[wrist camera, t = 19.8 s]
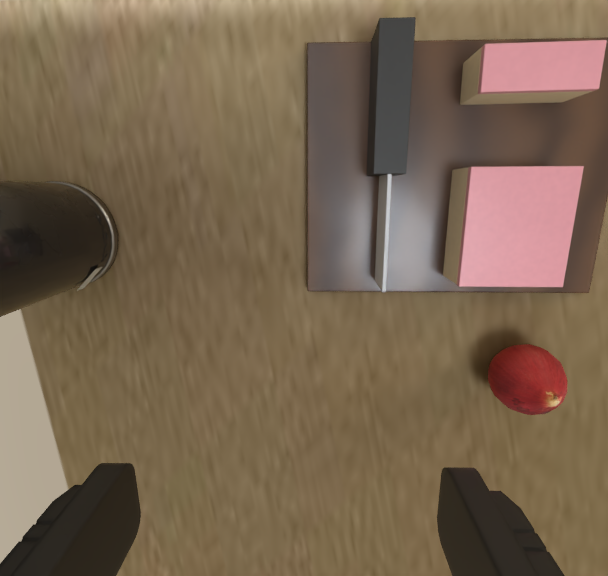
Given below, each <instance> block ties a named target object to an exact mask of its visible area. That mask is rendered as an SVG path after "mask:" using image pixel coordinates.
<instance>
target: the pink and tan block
mask: <svg viewBox="0 0 608 576" xmlns="http://www.w3.org/2000/svg"><path fill="white" fill-rule="evenodd" d="M606 42H607V40H589V41H558V42H526V43H495V44H485V45H483V46H482V47H481V48H480V49H479V50H478V51H477V52H476V53H474V54H473V55H472V56H471V57H470V58H469V59H468V60H466V61H465V62H464V63H463V72H462V84H461V97H460V105H478V104H517V103H555V102H564V101H567V100H570V99H573V98H575V97H578V96H581V95H584V94H586V93H589V92H592V91H595V90H597V89H599V85H600V79H601V73H602V67H603V61H604V55H605V48H606Z"/></svg>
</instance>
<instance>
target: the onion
mask: <svg viewBox="0 0 608 576" xmlns="http://www.w3.org/2000/svg"><path fill="white" fill-rule="evenodd" d="M488 381H489V384H490V387H491V389H492V391H493V393H494V395H495V396H496V397H497V398H498V399H499V400H500V401H501V402H502V403H503V404H504V405H506V406H507V407H508V408H510V409H512V410H515V411H518V412H521V413H524V414H528V415H535V414H545V413H548V412H550V411H551V410H553V409H555V408H557V407H558V406H559V405H560V404H561V403H562V402H563V400H564V398H565V396H566V393H567V378H566V375H565V372H564V369H563V367H562V365H561V363H560V362H559V361H558V360H557V359H556V358H555V357H554V356H553V355H551V354H550V353H549V352H548V351H547V350H545V349H542V348H540V347H537V346H533V345H530V344H525V345H513V346H511V347H508V348H505V349H503V350H502V351H500V352H499V353H498V354H497V355H495V356H494V358H493V360H492V361H491V363H490V365H489V369H488Z"/></svg>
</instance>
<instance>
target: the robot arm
mask: <svg viewBox="0 0 608 576" xmlns="http://www.w3.org/2000/svg"><path fill="white" fill-rule="evenodd" d="M117 249H118V234H117V229H116V225H115V222H114V220H113V218H112V216H111V214H110V212H109V210H108V209H107V207H106V206H105V205H104V204H103V202H102V201H101V200H100V199H99V198H98V197H96V196H95V195H94V194H93V193H91V192H90V191H88V190H87V189H85V188H83V187H81V186H78V185H75V184H72V183H67V182H53V181H52V182H23V181H0V317H1V316H3V315H6V314H8V313H11V312H13V311H16V310H19V309H21V308H24V307H26V306H29V305H31V304H34V303H36V302H39V301H41V300H44V299H46V298H49V297H52V296H54V295H57V294H59V293H62V292H65V291H67V290H70V289H72V288H75V287H77V286H80V287H79V289H78V290H80V289H83V288H85V287H86V285H87V284H88V283H90V282H93V281H95V280H97V279H99V278H100V277H102V276H103V275H104V274H105V273H106V272H107V271H108V270H109V269H110V267H111V266H112V264H113V262H114V260H115V257H116V254H117ZM78 290H77V291H78ZM437 522H438V532H439V537H440V541H441V545H442V548H443V551H444V553H445V556H446V559H447V562H448V565H449V567H450V570H451V573H452V576H564V574H563V573H562V571H561V570H560V568H559V567H558V565H557V564H556V562H555V560H554V559H553V557H552V556H551V554H550V553H549V552H547V551H546V547H545V545H544V544H543V542H542V541H541V539H540V538H539V536H538V534H535V532H534V528H533V527H532V525H531V524H530V522H529V521H528V519H527V518H526V516H525V515H524V513H523V511H522V510H521V508H519V507H518V506H517V505H516V504H515V503H514V502H513V501H511V500H510V499H509V498H508V497H507V496H506V495H505V494H503V493H502V492H501V491H489V489H488V488H487V486H486V484H485V483H484V481H483V479H482V478H481V476H480V474H479V473H478V471H477V470H476V469H475V468H443V470H442V474H441V483H440V494H439V504H438V515H437ZM139 524H140V504H139V497H138V490H137V483H136V476H135V470H134V467H133V465H132V464H130V463H101V464H99V465H98V466H97V467H96V468H95V469H94V470H93V472H92V473H91V474H90V475H89V477H88V478H87V479H86V480H85V482H84V483H83V484H82V485H74V486H73V487H72V488H70V489H69V490H68V491H66V492H65V493H64V494H62V495H61V496H60V497H58V498H57V499H55V500H54V501H53V502H52V503H51V504H50V506H49V507H48V508H47V509H46V510H45V512H44V513H43V514H42V515H41V516H40V517H39V519H38V520H37V523H36V525H33V526H32V527H31V528H30V529H29V531H28V532H27V533H26V534H25V535H24V536H23V539H22V541H21V542H18V543H17V545H16V546H15V547H14V548H13V549H12V551H11V552H10V553H9V554H8V555H7V556H6V558H5V559H4V560H3V561H2V562H1V564H0V576H116V575H117V573H118V571H119V569H120V567H121V565H122V563H123V561H124V559H125V557H126V555H127V553H128V551H129V550H130V548H131V546H132V544H133V542H134V540H135V538H136V535H137V532H138V528H139Z"/></svg>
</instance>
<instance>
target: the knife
mask: <svg viewBox="0 0 608 576" xmlns="http://www.w3.org/2000/svg"><path fill="white" fill-rule="evenodd" d="M414 35H415V17H410V18H380V19H379V21H378V24H377V27H376V30H375V33H374V35H373V38H372V41H371V63H370V92H369V121H368V150H367V176H379V192H378V216H377V239H376V262H375V282H376V283H377V285H378V286H379V288H380V289H381V291H382V292H386V279H387V259H388V240H389V220H390V200H391V180H392V176H397V175H402V174H406V169H407V152H408V135H409V118H410V102H411V85H412V68H413V52H414Z"/></svg>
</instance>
